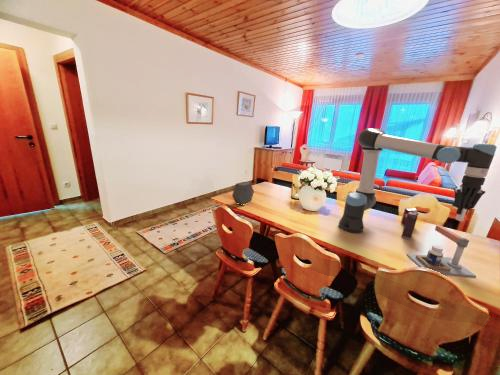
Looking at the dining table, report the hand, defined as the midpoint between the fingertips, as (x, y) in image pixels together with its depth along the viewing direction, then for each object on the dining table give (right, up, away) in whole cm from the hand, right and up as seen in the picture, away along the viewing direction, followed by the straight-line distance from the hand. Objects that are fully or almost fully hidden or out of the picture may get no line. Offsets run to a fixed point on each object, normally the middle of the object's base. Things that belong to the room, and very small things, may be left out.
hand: (459, 220), depth 107 cm
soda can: (+4, -10, +40) cm, 42 cm away
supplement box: (-9, -14, +24) cm, 29 cm away
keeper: (-7, -9, -2) cm, 11 cm away
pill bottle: (-19, -21, -5) cm, 29 cm away
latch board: (-15, -22, -5) cm, 27 cm away
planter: (-115, +3, +66) cm, 133 cm away
